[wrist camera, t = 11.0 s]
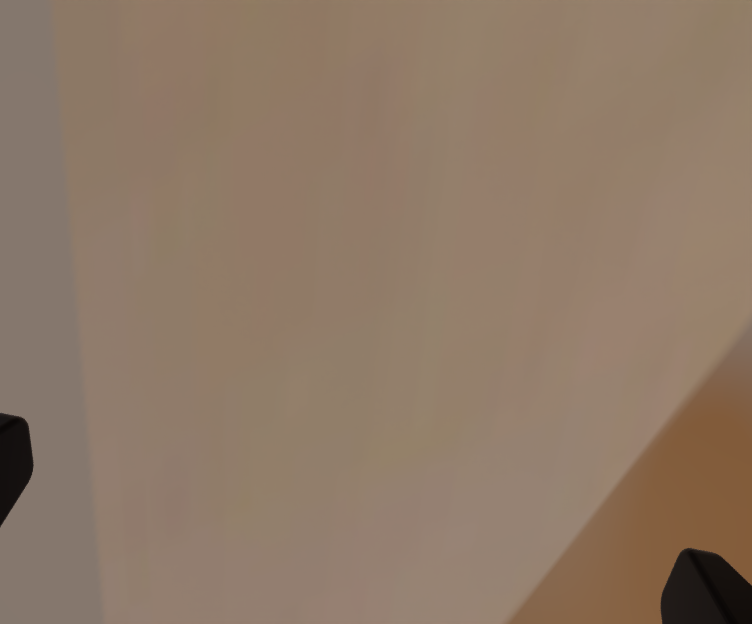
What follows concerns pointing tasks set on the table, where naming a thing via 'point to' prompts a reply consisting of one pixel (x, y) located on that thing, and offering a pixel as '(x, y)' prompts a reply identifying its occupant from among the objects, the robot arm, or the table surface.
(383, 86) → the table surface
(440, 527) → the table surface
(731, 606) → the robot arm
